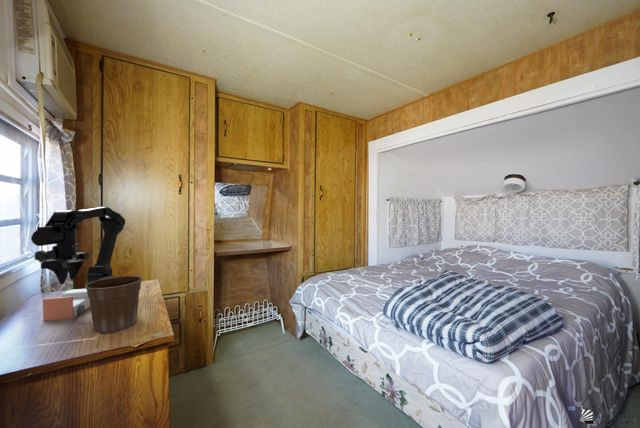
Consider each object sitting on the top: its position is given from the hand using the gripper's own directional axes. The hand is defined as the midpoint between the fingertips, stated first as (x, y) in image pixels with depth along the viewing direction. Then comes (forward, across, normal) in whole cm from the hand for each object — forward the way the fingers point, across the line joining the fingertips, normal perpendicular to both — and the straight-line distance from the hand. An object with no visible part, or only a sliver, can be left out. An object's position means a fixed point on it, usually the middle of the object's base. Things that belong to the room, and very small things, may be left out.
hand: (67, 281), depth 103 cm
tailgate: (+12, +6, 0) cm, 14 cm away
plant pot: (+13, +17, +23) cm, 31 cm away
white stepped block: (+13, -3, 0) cm, 13 cm away
